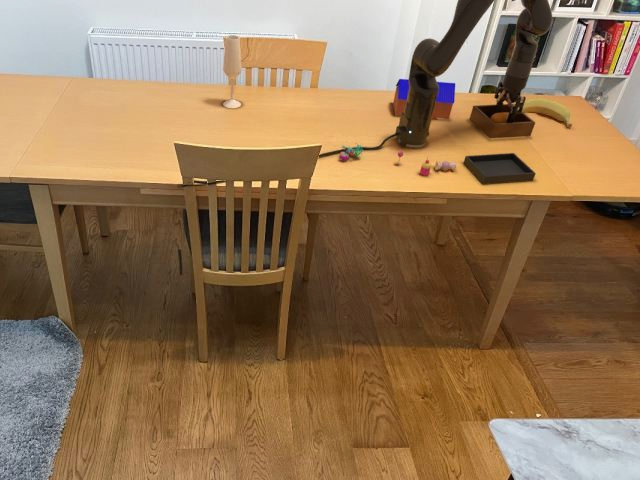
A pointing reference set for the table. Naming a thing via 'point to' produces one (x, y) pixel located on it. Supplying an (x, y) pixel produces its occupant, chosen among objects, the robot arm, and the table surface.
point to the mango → (500, 117)
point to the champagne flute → (232, 65)
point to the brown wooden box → (501, 130)
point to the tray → (499, 168)
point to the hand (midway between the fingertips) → (503, 117)
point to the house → (442, 101)
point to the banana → (548, 109)
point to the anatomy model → (350, 152)
